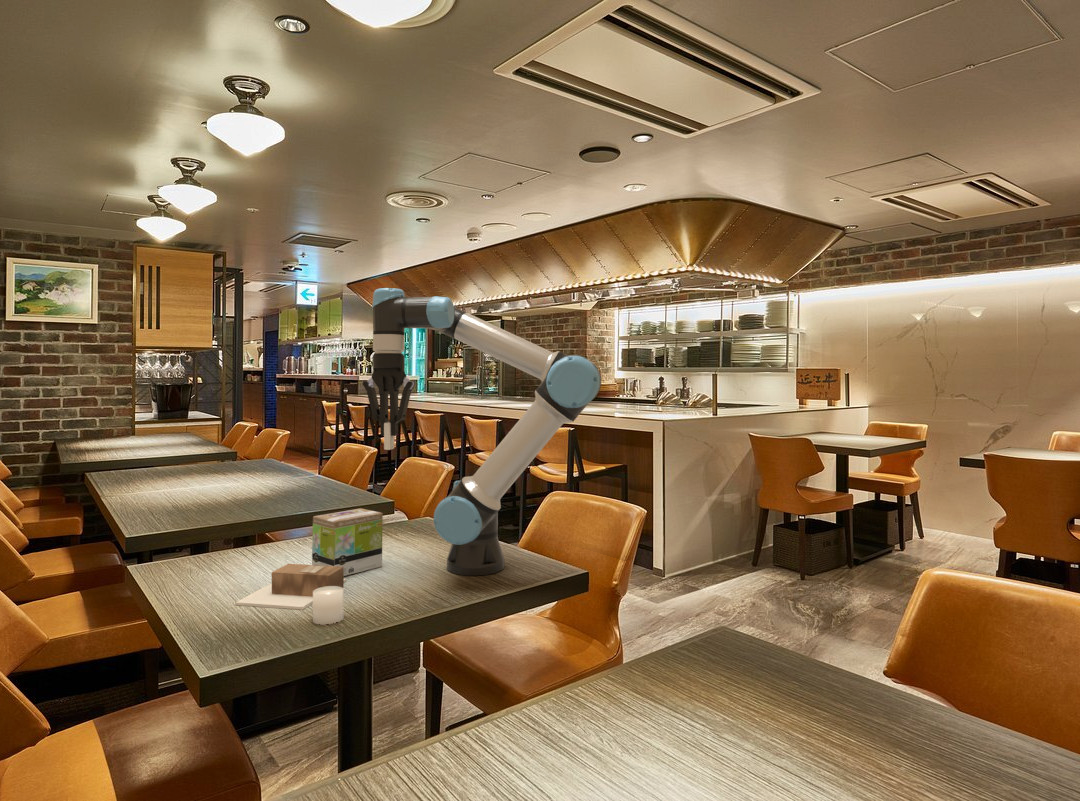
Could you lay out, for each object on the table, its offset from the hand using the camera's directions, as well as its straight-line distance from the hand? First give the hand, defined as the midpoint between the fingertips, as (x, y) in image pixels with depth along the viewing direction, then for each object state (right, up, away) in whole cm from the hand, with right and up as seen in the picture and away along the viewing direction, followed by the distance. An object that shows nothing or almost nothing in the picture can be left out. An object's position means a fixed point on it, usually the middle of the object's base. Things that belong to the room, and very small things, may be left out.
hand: (389, 449), depth 159 cm
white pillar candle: (-7, -33, -25) cm, 42 cm away
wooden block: (-10, -30, -10) cm, 33 cm away
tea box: (-13, -32, +9) cm, 36 cm away
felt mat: (-20, -33, -9) cm, 39 cm away
